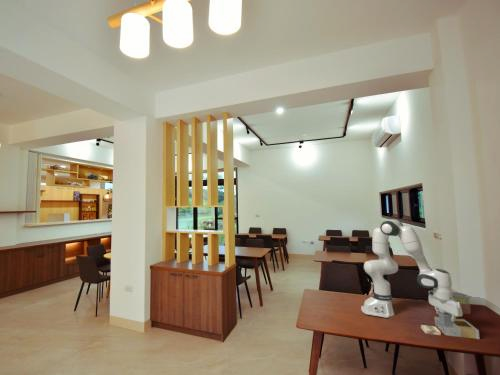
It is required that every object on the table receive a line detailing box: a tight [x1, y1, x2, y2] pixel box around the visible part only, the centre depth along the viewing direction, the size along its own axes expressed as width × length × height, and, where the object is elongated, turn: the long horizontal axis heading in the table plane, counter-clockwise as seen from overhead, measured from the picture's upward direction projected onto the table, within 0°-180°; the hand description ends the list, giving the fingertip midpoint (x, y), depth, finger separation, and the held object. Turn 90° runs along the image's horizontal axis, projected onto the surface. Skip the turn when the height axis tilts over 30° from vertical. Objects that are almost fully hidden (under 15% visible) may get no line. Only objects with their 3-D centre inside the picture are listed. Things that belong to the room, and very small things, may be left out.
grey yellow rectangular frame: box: [433, 316, 480, 340], centre depth 150 cm, size 17×14×5 cm
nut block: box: [438, 312, 453, 324], centre depth 152 cm, size 5×5×5 cm
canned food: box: [452, 291, 471, 315], centre depth 178 cm, size 11×11×12 cm
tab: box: [420, 324, 442, 336], centre depth 150 cm, size 8×7×2 cm
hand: (445, 317), depth 152 cm, fingers open, 8 cm apart
